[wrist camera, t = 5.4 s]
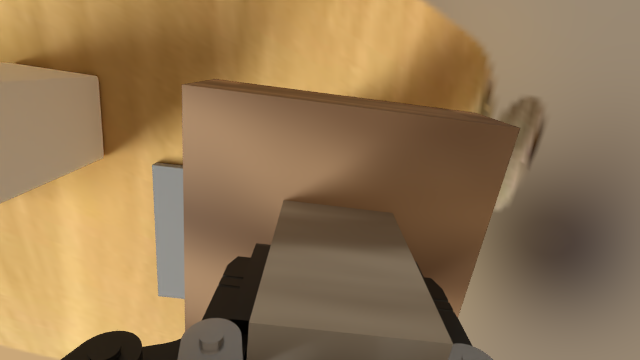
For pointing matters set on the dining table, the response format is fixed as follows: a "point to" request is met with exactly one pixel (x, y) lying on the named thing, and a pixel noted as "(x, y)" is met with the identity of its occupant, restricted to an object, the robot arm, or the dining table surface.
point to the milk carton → (46, 126)
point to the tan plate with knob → (336, 215)
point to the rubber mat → (169, 229)
